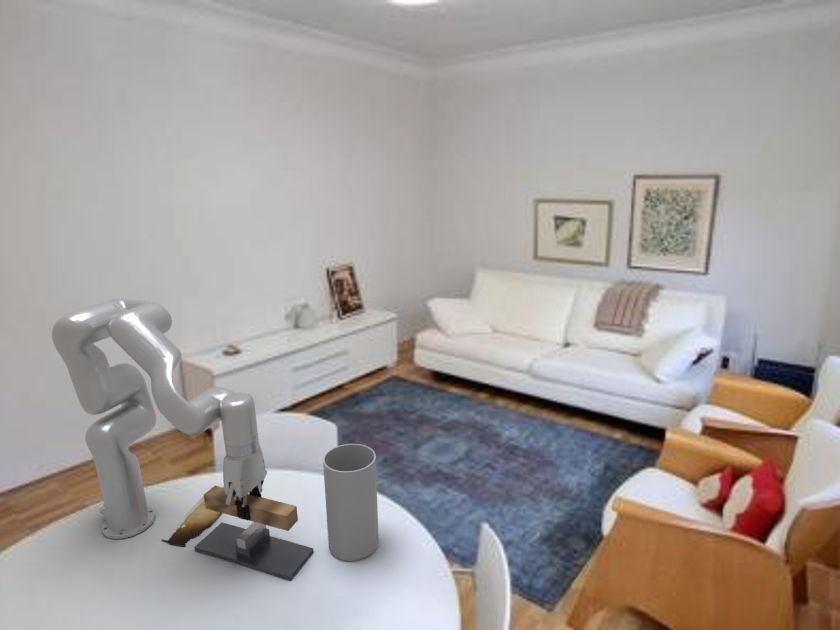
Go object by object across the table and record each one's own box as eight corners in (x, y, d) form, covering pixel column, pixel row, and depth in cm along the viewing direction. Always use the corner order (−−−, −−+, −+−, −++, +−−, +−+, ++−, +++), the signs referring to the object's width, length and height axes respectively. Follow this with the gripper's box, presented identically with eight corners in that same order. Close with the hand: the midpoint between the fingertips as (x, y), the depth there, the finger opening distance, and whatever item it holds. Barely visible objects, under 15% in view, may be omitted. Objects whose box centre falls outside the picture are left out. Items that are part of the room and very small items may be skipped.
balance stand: (194, 550, 135) (191, 528, 133) (222, 525, 144) (219, 504, 142) (290, 581, 125) (288, 557, 123) (313, 552, 134) (311, 529, 132)
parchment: (213, 486, 161) (212, 484, 160) (243, 490, 159) (242, 487, 158) (158, 545, 138) (157, 542, 137) (192, 549, 136) (192, 546, 135)
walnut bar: (205, 508, 133) (203, 494, 132) (216, 499, 137) (214, 485, 136) (288, 531, 125) (286, 516, 124) (298, 520, 129) (296, 506, 127)
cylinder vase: (347, 570, 128) (342, 478, 121) (319, 543, 137) (313, 456, 130) (388, 545, 136) (386, 458, 129) (359, 521, 145) (356, 438, 138)
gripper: (251, 426, 134) (259, 490, 140) (203, 461, 119) (214, 531, 125) (277, 431, 132) (283, 496, 137) (231, 467, 117) (240, 538, 122)
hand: (250, 512), depth 131 cm, fingers closed on walnut bar, 4 cm apart
